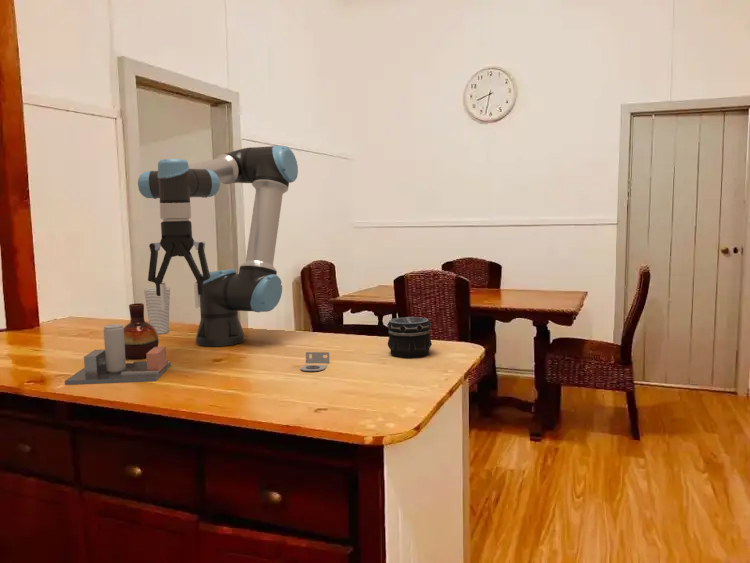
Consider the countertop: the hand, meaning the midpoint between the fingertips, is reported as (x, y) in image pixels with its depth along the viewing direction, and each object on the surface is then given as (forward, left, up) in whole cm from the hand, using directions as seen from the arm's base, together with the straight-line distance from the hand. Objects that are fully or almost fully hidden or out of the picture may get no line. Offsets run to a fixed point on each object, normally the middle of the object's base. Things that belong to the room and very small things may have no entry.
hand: (181, 307), depth 165 cm
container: (-61, -11, -18) cm, 65 cm away
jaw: (+7, 0, -16) cm, 17 cm away
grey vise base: (+18, 0, -17) cm, 25 cm away
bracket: (-34, 0, -18) cm, 39 cm away
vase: (+18, -21, -17) cm, 32 cm away
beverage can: (+18, 0, -16) cm, 24 cm away
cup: (+21, -56, -17) cm, 62 cm away
